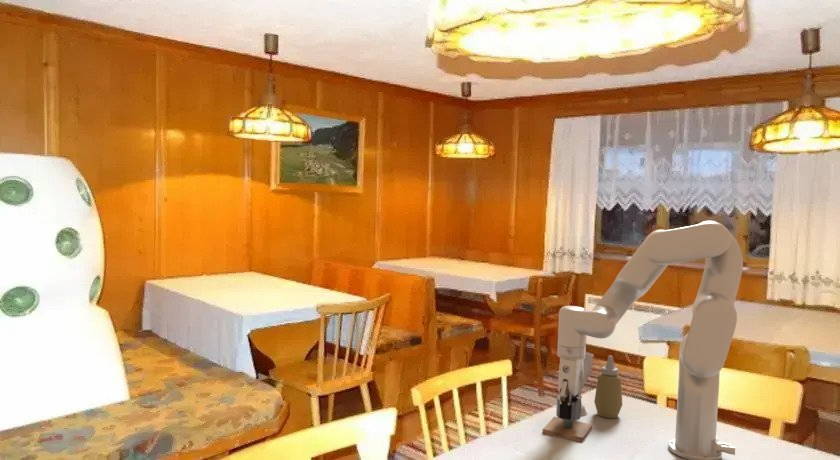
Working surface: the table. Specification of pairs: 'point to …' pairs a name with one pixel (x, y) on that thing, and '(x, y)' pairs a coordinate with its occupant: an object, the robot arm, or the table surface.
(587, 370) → the chalice
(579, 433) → the post stand
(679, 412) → the robot arm
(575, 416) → the ring
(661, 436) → the table surface
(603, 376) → the squeeze bottle
